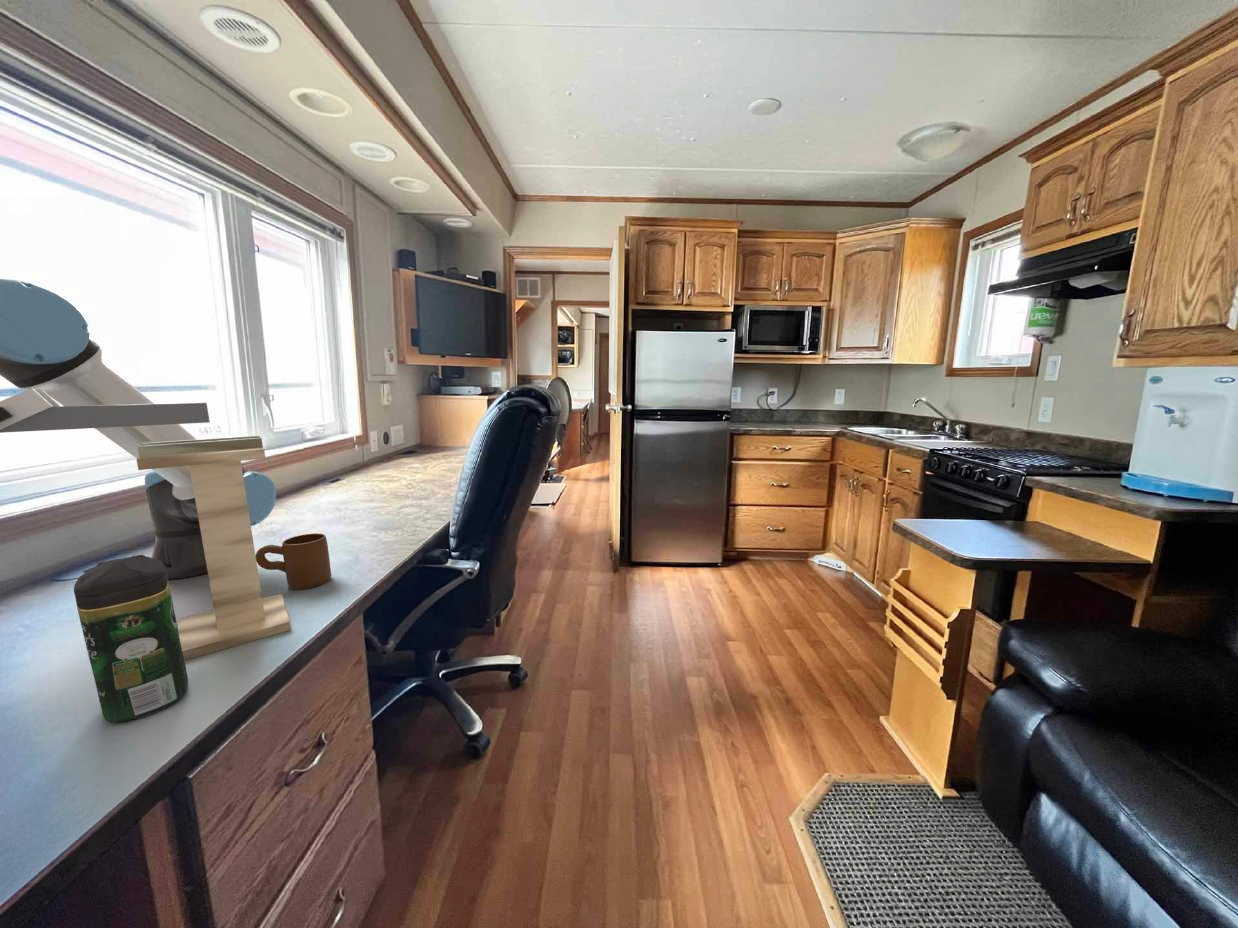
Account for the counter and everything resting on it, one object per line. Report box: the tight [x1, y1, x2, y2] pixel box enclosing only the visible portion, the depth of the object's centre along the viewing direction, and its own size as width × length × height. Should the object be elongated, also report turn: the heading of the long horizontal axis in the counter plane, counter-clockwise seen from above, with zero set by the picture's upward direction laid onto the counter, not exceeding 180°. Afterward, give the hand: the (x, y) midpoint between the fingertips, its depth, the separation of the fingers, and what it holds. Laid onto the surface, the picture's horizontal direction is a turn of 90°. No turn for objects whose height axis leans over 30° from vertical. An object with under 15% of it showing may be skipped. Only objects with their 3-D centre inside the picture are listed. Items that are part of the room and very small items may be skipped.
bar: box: [0, 402, 210, 434], centre depth 64 cm, size 3×24×3 cm, turn 130°
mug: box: [255, 532, 332, 591], centre depth 94 cm, size 12×8×9 cm, turn 120°
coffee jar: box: [73, 554, 189, 724], centre depth 58 cm, size 10×8×19 cm
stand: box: [135, 435, 291, 661], centre depth 75 cm, size 14×14×32 cm
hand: (46, 397), depth 61 cm, fingers closed on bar, 3 cm apart
